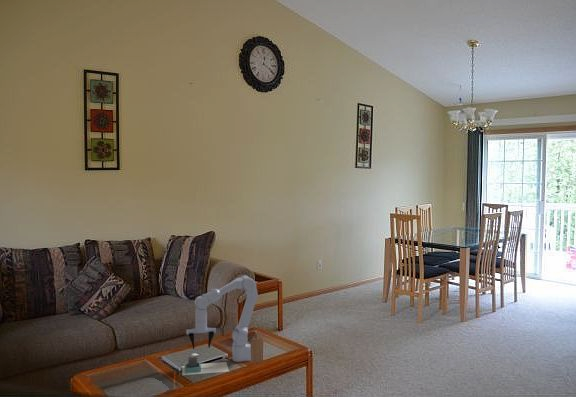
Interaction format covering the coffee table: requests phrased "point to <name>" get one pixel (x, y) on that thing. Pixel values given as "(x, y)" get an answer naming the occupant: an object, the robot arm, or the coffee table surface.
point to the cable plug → (192, 362)
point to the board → (205, 368)
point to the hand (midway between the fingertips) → (201, 347)
